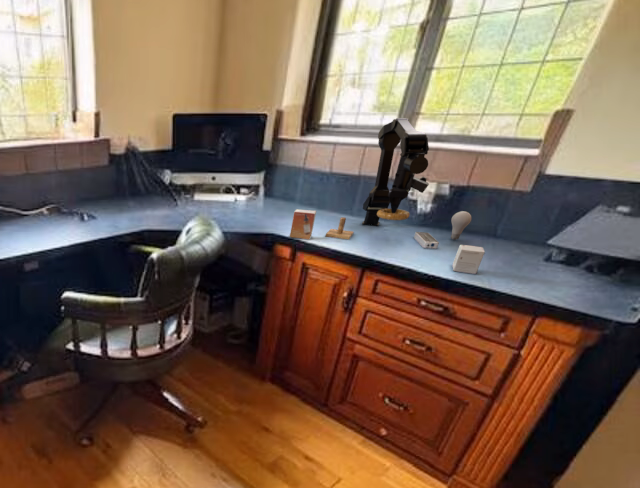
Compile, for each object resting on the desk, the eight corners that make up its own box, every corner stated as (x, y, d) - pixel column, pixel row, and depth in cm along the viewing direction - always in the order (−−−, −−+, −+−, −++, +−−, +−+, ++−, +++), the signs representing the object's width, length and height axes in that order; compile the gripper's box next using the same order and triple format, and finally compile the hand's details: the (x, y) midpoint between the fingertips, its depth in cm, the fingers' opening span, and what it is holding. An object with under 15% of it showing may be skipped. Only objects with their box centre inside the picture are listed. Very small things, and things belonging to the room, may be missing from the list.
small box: (289, 237, 173) (293, 211, 168) (291, 234, 177) (295, 208, 172) (309, 239, 169) (315, 213, 164) (311, 236, 174) (316, 210, 169)
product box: (452, 271, 135) (460, 249, 132) (451, 265, 140) (459, 244, 136) (476, 274, 132) (485, 252, 129) (474, 268, 137) (483, 246, 133)
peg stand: (330, 231, 179) (333, 214, 176) (353, 234, 175) (357, 216, 171) (325, 236, 173) (329, 219, 169) (349, 239, 168) (353, 221, 165)
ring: (378, 212, 169) (379, 206, 168) (409, 215, 163) (411, 209, 162) (374, 218, 161) (376, 212, 160) (407, 222, 156) (408, 215, 155)
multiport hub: (426, 238, 168) (428, 232, 166) (437, 248, 156) (439, 242, 154) (413, 237, 169) (415, 231, 168) (423, 248, 157) (425, 241, 156)
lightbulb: (457, 243, 161) (468, 214, 156) (441, 239, 166) (451, 211, 161) (466, 240, 164) (477, 212, 158) (450, 237, 168) (460, 209, 163)
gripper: (430, 174, 146) (416, 219, 154) (432, 168, 160) (419, 209, 167) (393, 173, 152) (382, 216, 160) (398, 166, 165) (387, 207, 173)
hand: (393, 212), depth 165 cm, fingers closed on ring, 2 cm apart
